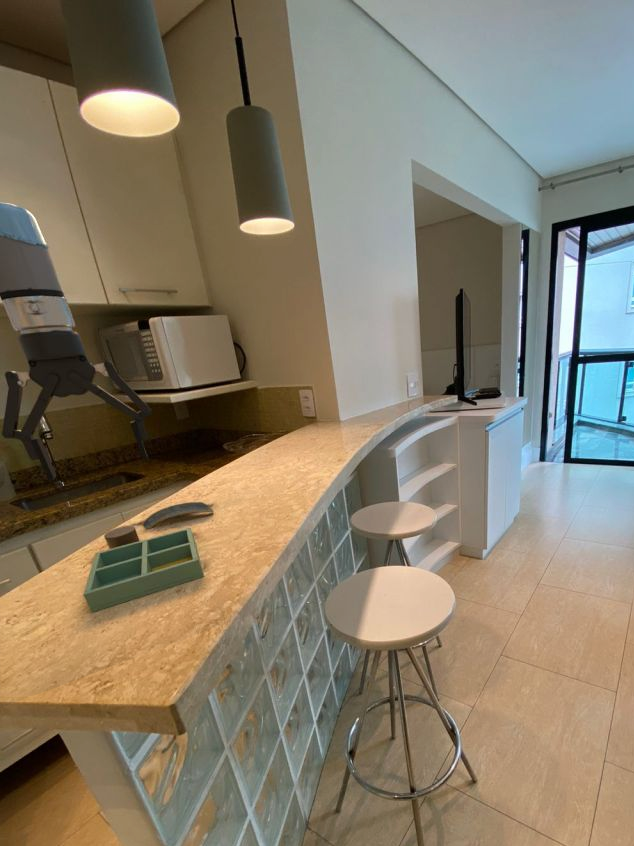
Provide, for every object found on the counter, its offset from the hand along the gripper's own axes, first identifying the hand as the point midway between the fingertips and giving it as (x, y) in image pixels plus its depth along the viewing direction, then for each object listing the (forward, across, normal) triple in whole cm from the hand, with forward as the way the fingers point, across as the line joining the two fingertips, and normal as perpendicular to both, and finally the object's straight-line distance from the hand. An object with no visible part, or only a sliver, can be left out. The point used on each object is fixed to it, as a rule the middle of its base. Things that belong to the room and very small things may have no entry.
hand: (101, 468), depth 69 cm
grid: (+16, +2, -10) cm, 20 cm away
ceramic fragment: (+17, +9, +11) cm, 22 cm away
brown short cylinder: (+17, -1, +3) cm, 17 cm away
